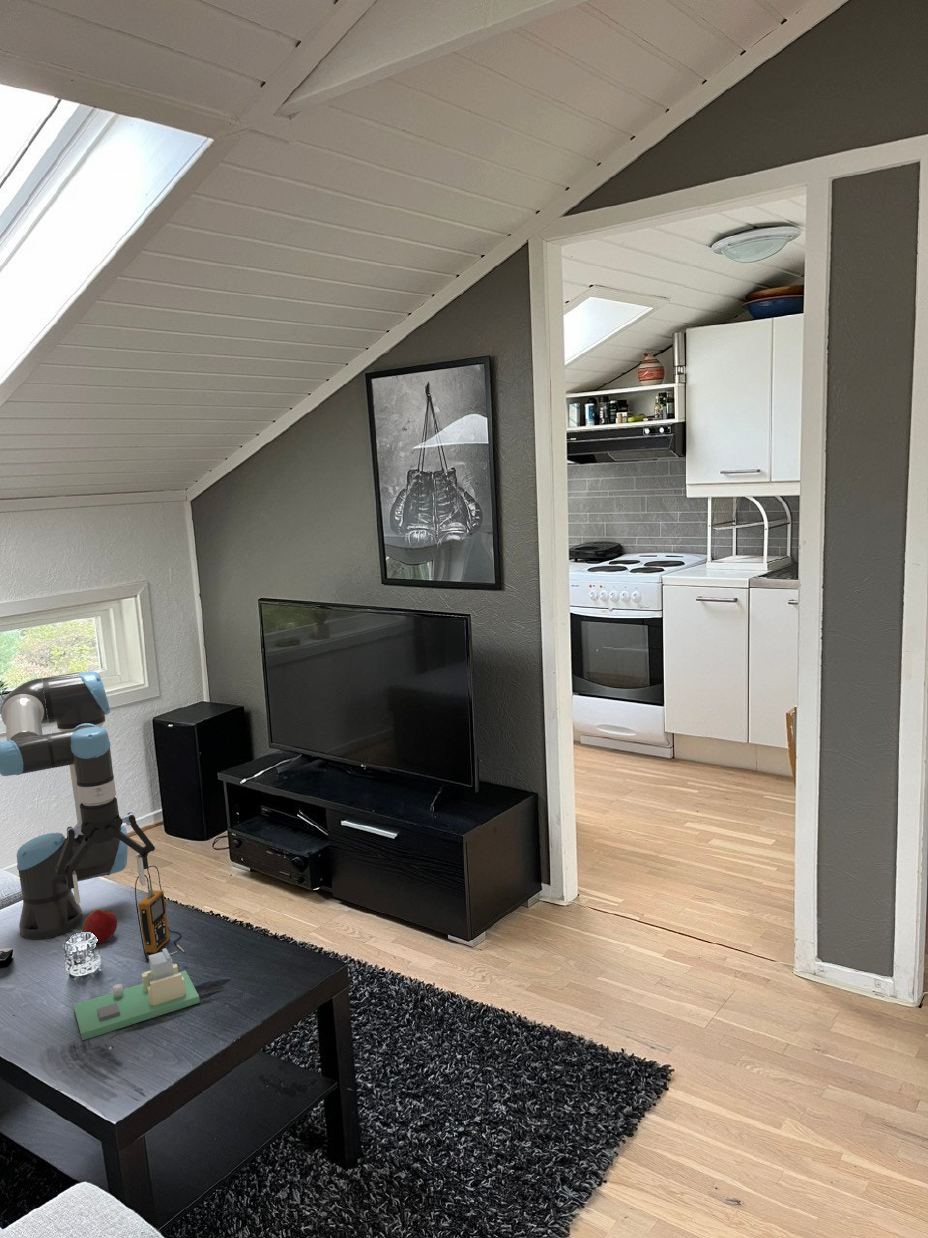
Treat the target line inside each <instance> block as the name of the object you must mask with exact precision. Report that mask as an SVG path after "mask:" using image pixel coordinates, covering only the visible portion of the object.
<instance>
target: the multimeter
mask: <svg viewBox="0 0 928 1238" xmlns="http://www.w3.org/2000/svg"><path fill="white" fill-rule="evenodd" d="M151 867H152V868H155V869H156V870H157V874H158V883H159V889H160V890H153V886H152V879H151V875H150V872H149V869H150V868H151ZM146 870H147V874H148V876H147V875H146V874H144V875H145V879H146V882H147V895H146V896H145V897H144V898H143V899H141V900H140V901H139V902H138V898H137V882H138V880H139V875H138V876H137V877H136V880H135V885H134V894H135V895H134V897H135V899H134V900H135V906H136V914H137V919H138V920H137V921H138V925H139V931H140V939H141V944H142V949H143V953H144V958H145V959H146V960H147V961H148V962H149V957H147V954H146V953H153V954H156V953H158V950H160V949H161V948H162V946H164V945H165V944H166V943H167V942H168V941H169V940H170V933H175V934H179V937H178V938H177V939H175V940H174V941H173V944H174V945H175V946H176V947H177V949H179V951H182V952H183V953H185V951H184V949H183V947H181V946H180V945H179V944H178V943H177V941H179V940H180V939H182V934H181V933H180V932H177V931H173V930H171V929H170V927H169V923H168V914H167V903H166V899H165V891H164V890H162V886H161V885H162V884H161V879H160V878H161V877H160V871H159V868H158V866H156V865H148V869H146ZM168 953H169V952H168ZM175 953H178V951H177V950H176V951H174V952H172V953H169V955H170V957H171V955H173V954H175Z"/></svg>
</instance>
